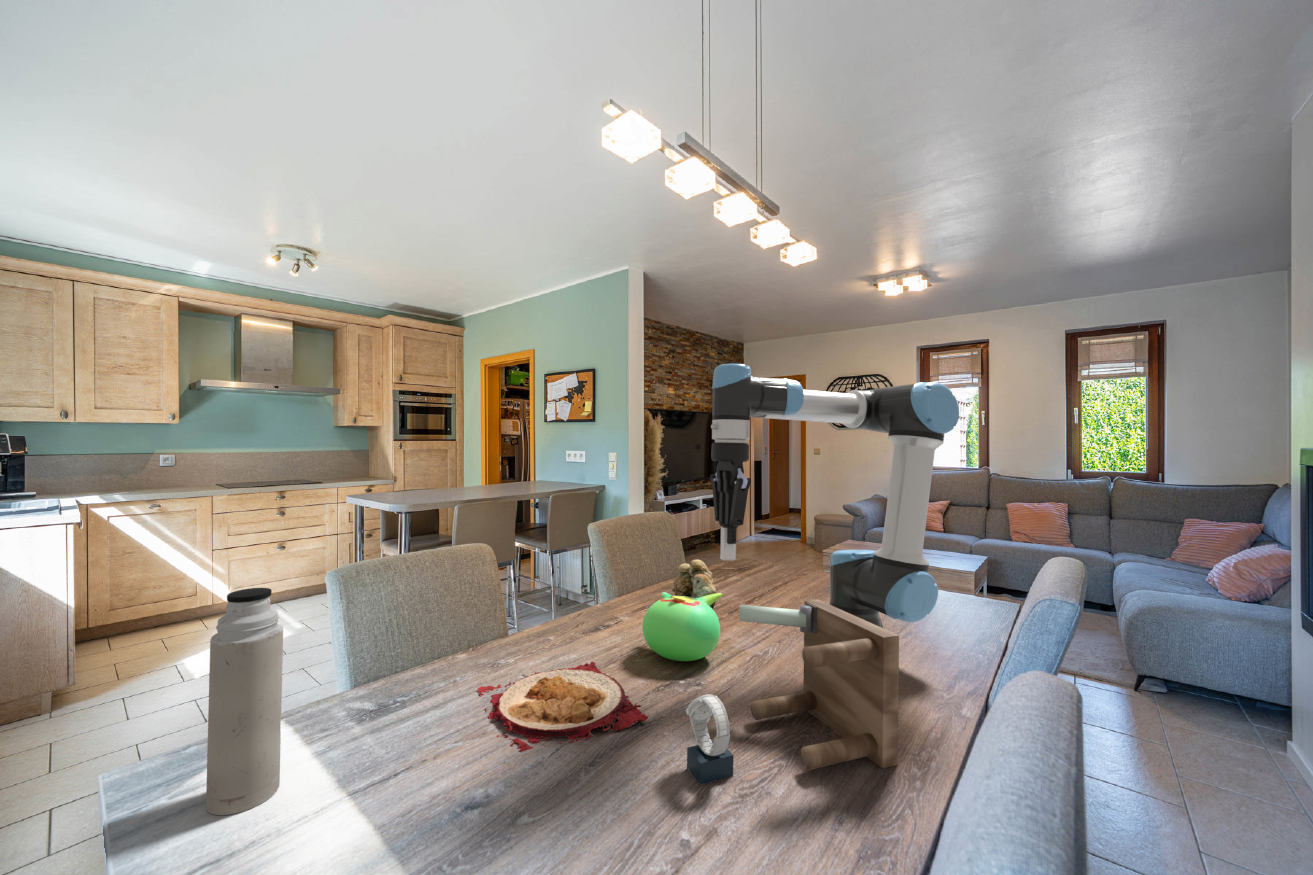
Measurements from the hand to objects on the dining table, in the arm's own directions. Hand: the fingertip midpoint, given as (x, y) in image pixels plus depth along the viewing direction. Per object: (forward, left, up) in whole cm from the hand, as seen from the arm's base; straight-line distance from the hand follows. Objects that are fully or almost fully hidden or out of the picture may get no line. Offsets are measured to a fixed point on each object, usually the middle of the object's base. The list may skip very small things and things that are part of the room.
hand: (728, 559), depth 106 cm
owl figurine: (-11, -41, -27) cm, 50 cm away
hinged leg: (-5, +10, -11) cm, 15 cm away
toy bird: (+2, -19, -27) cm, 32 cm away
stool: (-6, +21, -26) cm, 34 cm away
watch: (+15, +22, -27) cm, 38 cm away
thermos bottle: (+78, +6, -27) cm, 82 cm away
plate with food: (+33, -5, -27) cm, 43 cm away
